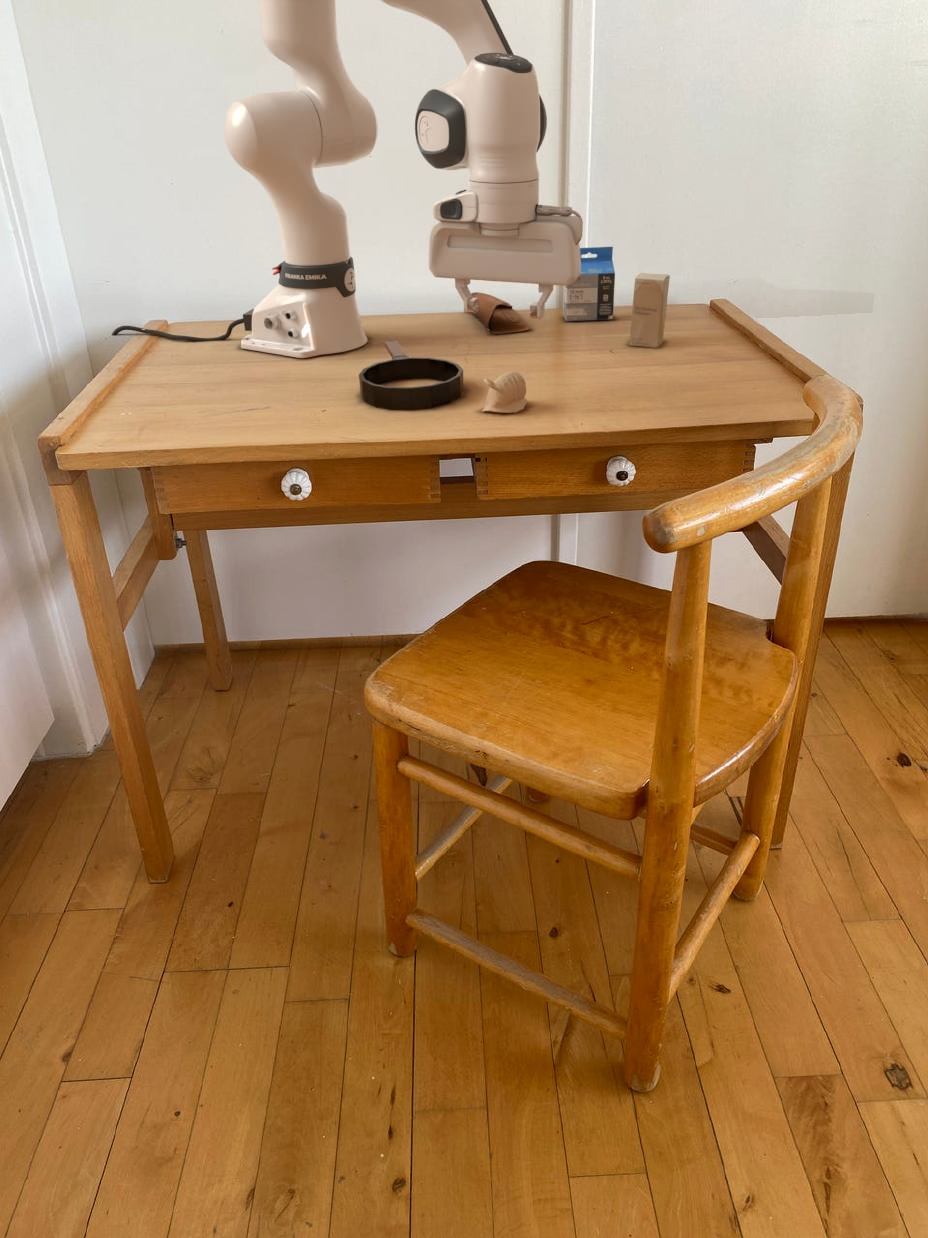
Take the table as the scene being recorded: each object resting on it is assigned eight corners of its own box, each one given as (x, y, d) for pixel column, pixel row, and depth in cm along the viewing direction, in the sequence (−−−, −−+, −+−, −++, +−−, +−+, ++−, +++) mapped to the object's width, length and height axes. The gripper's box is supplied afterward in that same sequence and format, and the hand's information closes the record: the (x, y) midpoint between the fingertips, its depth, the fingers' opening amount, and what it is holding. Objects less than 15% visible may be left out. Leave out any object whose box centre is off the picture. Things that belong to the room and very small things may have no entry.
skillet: (473, 403, 133) (473, 381, 132) (369, 414, 131) (367, 392, 129) (436, 355, 155) (435, 336, 153) (346, 364, 152) (344, 345, 150)
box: (628, 345, 156) (632, 277, 150) (634, 339, 159) (638, 272, 153) (659, 348, 154) (665, 278, 148) (664, 341, 157) (670, 273, 151)
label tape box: (565, 322, 170) (567, 251, 164) (563, 316, 174) (564, 247, 167) (613, 320, 170) (616, 249, 164) (610, 315, 174) (613, 245, 167)
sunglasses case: (533, 327, 166) (515, 296, 162) (501, 351, 166) (482, 320, 163) (506, 305, 181) (488, 276, 177) (476, 327, 181) (459, 298, 178)
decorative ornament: (535, 405, 131) (535, 368, 129) (492, 420, 127) (492, 382, 124) (515, 399, 134) (515, 363, 131) (472, 413, 129) (471, 376, 127)
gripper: (590, 202, 116) (584, 314, 123) (440, 197, 122) (443, 304, 130) (576, 210, 111) (571, 327, 118) (421, 204, 117) (426, 315, 125)
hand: (503, 314), depth 124 cm, fingers open, 8 cm apart
